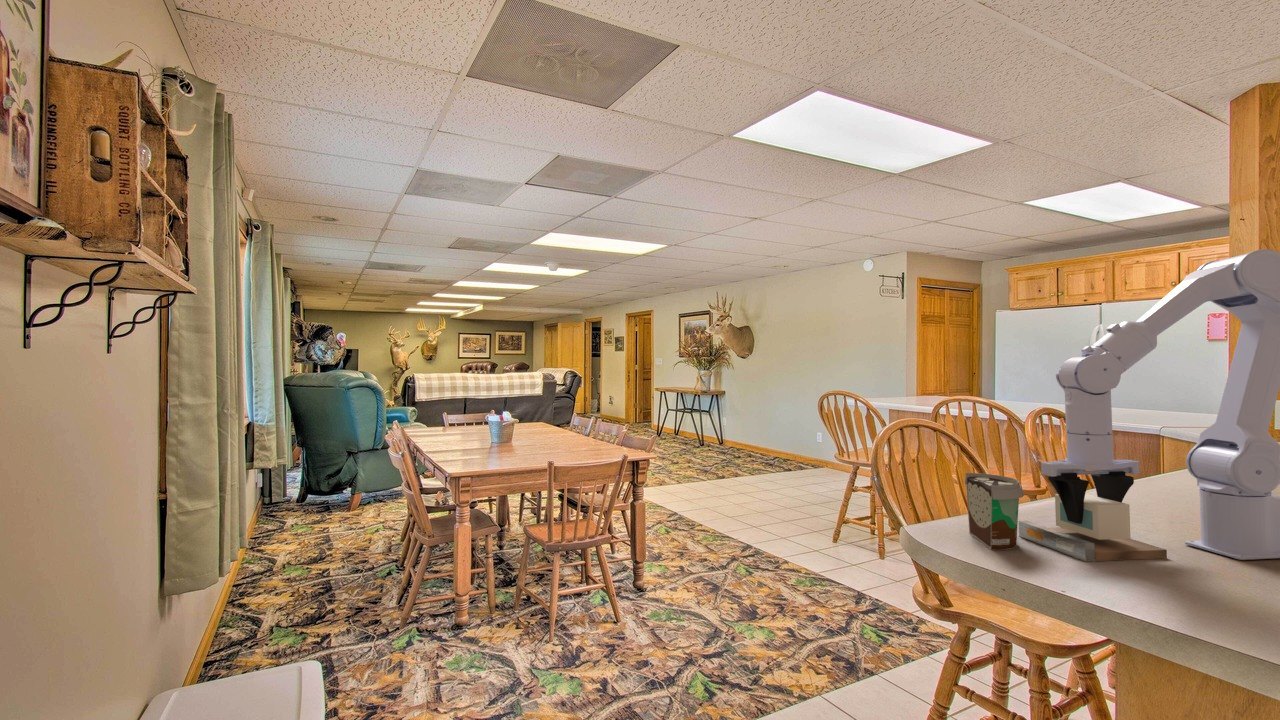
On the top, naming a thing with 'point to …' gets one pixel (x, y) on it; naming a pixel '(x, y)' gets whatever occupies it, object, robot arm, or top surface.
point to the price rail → (1057, 541)
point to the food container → (993, 509)
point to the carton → (1098, 518)
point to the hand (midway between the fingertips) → (1091, 521)
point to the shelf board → (1119, 548)
